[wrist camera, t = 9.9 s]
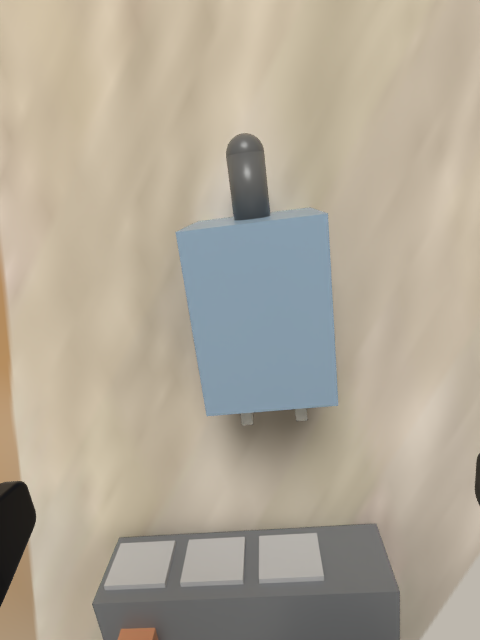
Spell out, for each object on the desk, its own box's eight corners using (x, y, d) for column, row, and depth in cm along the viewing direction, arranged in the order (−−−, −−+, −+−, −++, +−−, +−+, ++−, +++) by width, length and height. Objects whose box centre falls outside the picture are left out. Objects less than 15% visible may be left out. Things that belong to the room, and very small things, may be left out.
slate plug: (321, 386, 20) (340, 446, 15) (224, 394, 21) (213, 455, 16) (304, 133, 17) (322, 110, 12) (187, 149, 17) (159, 134, 12)
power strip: (377, 577, 24) (405, 669, 19) (132, 587, 25) (104, 676, 20) (376, 519, 22) (405, 603, 18) (118, 533, 24) (84, 615, 19)
